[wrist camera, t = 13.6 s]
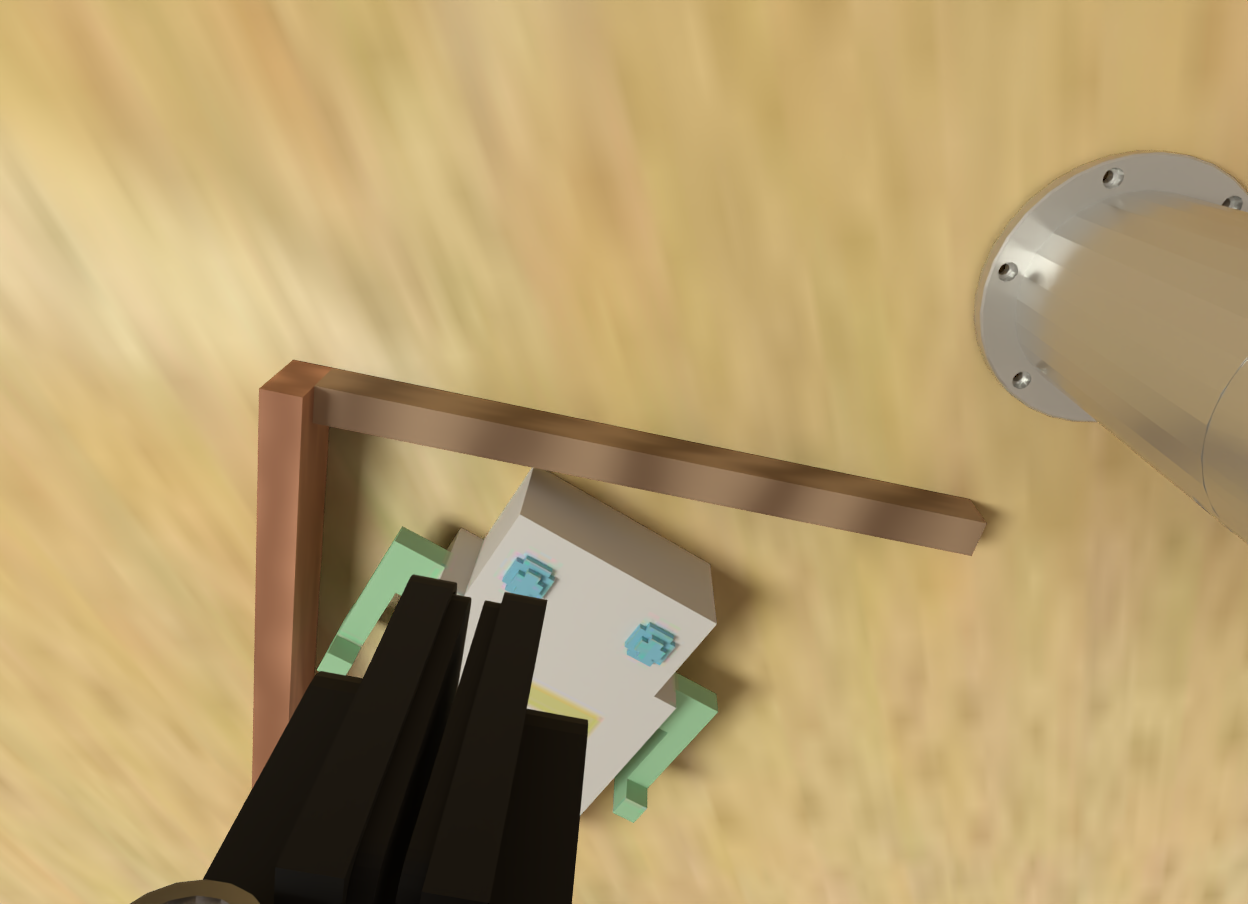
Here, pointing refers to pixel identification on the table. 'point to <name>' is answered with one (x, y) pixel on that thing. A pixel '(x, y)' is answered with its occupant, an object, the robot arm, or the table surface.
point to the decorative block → (577, 623)
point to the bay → (523, 436)
